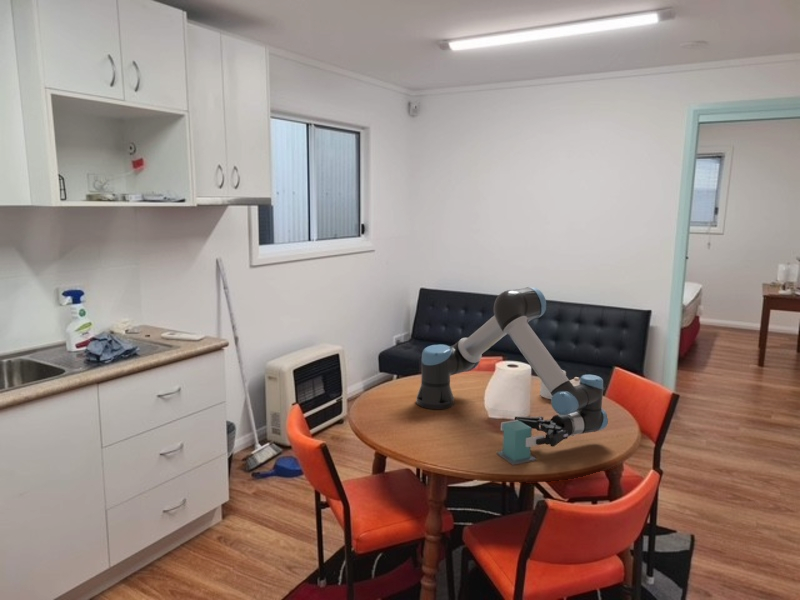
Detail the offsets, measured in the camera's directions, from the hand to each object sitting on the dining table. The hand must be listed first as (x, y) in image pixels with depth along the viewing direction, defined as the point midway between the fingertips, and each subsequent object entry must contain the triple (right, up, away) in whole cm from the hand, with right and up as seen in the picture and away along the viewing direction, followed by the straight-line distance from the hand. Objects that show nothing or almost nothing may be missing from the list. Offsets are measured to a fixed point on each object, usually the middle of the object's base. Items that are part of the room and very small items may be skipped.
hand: (513, 434), depth 181 cm
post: (+1, -8, +2) cm, 8 cm away
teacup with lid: (+37, 0, +50) cm, 62 cm away
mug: (+30, +2, +63) cm, 70 cm away
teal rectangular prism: (+1, -7, +2) cm, 8 cm away
